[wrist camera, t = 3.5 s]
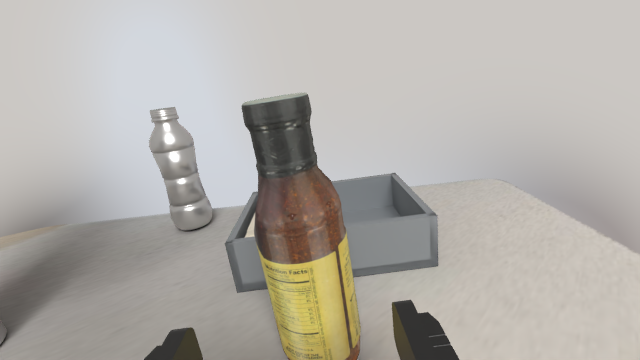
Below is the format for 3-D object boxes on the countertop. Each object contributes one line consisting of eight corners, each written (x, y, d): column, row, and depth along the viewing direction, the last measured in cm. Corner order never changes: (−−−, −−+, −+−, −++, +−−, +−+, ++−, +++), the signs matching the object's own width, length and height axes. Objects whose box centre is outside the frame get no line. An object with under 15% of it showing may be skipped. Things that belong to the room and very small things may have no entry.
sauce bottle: (323, 310, 28) (289, 93, 22) (378, 344, 24) (354, 85, 18) (266, 358, 24) (206, 105, 18) (321, 409, 20) (265, 98, 14)
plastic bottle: (193, 237, 48) (156, 109, 42) (166, 232, 51) (129, 113, 45) (223, 220, 53) (194, 104, 47) (197, 216, 56) (167, 107, 50)
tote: (237, 292, 33) (225, 243, 31) (260, 227, 48) (253, 192, 46) (438, 265, 32) (437, 215, 31) (397, 208, 48) (395, 173, 46)
